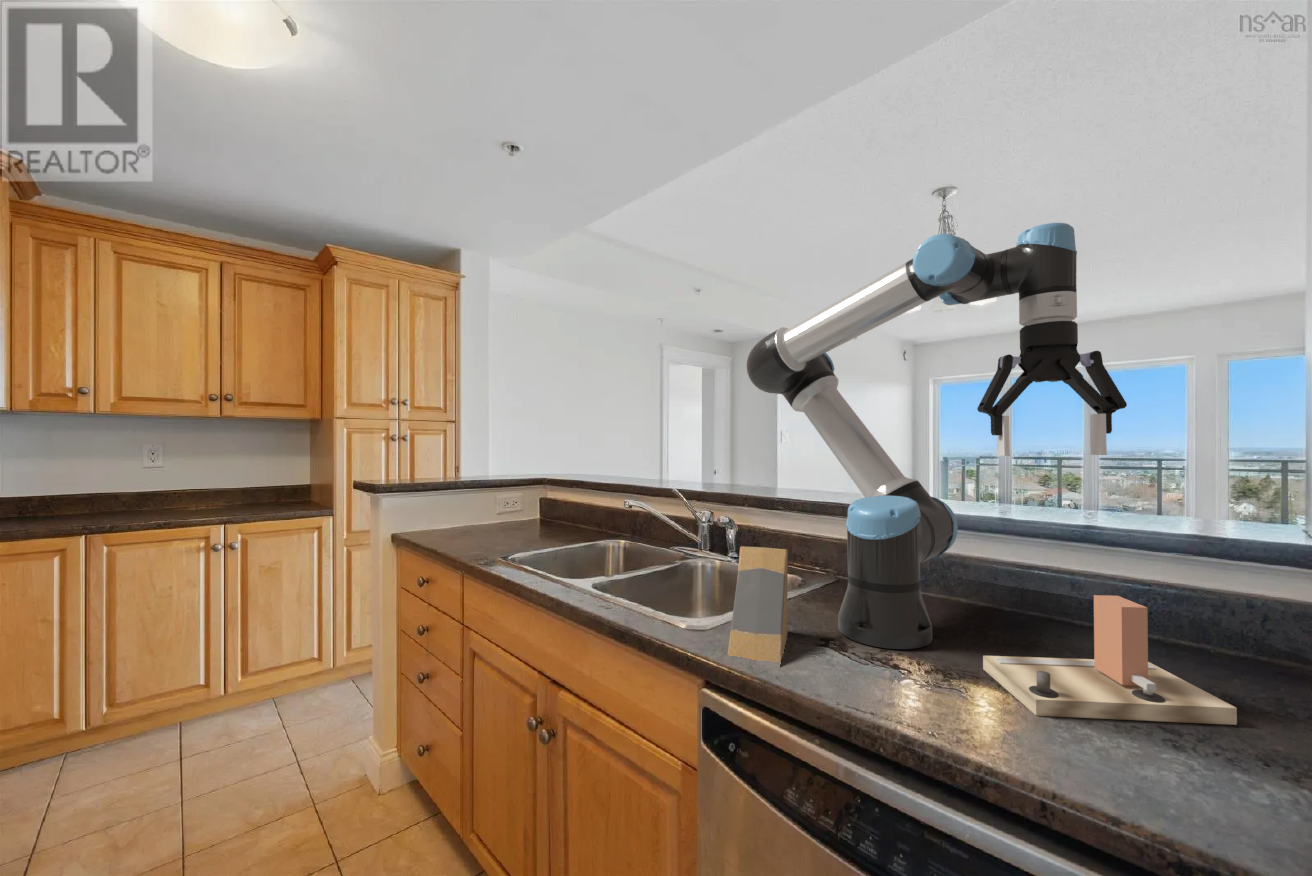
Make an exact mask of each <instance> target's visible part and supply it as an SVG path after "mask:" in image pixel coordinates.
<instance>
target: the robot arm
mask: <svg viewBox="0 0 1312 876" xmlns="http://www.w3.org/2000/svg"><path fill="white" fill-rule="evenodd" d="M1075 238H1076V235H1075V228H1074V227H1073V226H1072V225H1070V224H1069V223H1065V222H1049V223H1044V224H1040V225H1036V226H1035V225H1034V226H1032V227H1031V228H1029V229H1026V230H1024V231H1022V232H1021V233H1020V234H1019V235H1018V237H1017V242H1016V246H1014V247H1011V248H1007V249H1005V250H1000V251H996V252H992V253H987V254H986V253H985V252H983V251H981V250H979V249H977V248H976V247H974V246H973V245H972V244H971V243H970V242H969V241H968V240H966V239H965V238H962V237H960V236H957V235H954V234H951V233H939V234H938V233H937V234H934V235H932V236H930V237H928V238H927V239H925V240H923V242H921V244H920V245H919V246H918V248H917V249H916V250H915V253H914V255H913V258H911V259H910V260H908V261H906V262H904V263H903V264H901V265H899V266H898V267H896V268H894V269H892V270H890V271H888V272H886V273H885V274H883V275H882V276H880V277H878V278H877V279H876V278H875V280H873V281H871V282H869V283H868V284H866V285H863V286H862V287H860V288H859V289H857V290H855V291H853V292H851V293H850V294H848V295H846V296H844V297H842V298H841V299H839V300H838V301H835V302H833V303H832V304H830V305H829V306H827V307H825V308H823V309H822V310H820V311H818V312H816V313H814V314H813V315H811V316H810V317H807V318H806V319H804V320H803V321H801V322H799V323H797V324H795V325H794V326H792V327H790V328H788V327H780V328H778V329H776V330H774V331H773V332H771V333H770V334H768V335H766V336H765V337H764V338H762V339H760V340H759V341H758V342H757V343H756V344H755V345H754V346H753V347H752V348H751V350H750V352H749V354H748V356H747V360H746V372H747V375H748V378H749V380H750V382H751V383H752V384H753V385H754V386H755V387H756V388H757V389H758V390H760V391H762V392H764V393H769V394H777V395H782V396H783V397H784V399H785V400H786V402H788V404H789V406H790V407H791V409H792V410H793V411H795V412H800V413H804V415H805V416H806V417H807V419H808V420H809V422H810V423H811V424H812V426H813V427H814V429H815V430H816V431H817V433H818V434H819V436H820V437H821V438H822V439H823V441H824V442H825V444H826V445H827V447H828V448H829V449H830V451H831V452H832V454H833V455H834V456H835V458H836V460H837V461H838V462H839V463H840V465H841V466H842V467H843V469H844V471H846V473H847V474H848V476H849V477H850V479H851V480H852V482H853V483H854V484H855V485H856V487H857V489H858V490H859V491H860V493H861V494H862V495H863V496H864V497H862V498H859V499H856V500H854V501H852V502H851V503H850V504H849V506H848V508H847V518H846V523H845V526H846V531H847V532H846V536H847V538H846V539H847V541H846V542H847V543H846V544H847V588H846V591H845V593H844V596H843V600H842V602H841V606H840V609H839V612H838V616H837V629H838V631H839V632H840V633H841V634H842V635H843V636H845V637H846V638H848V639H850V640H852V641H855V642H857V643H860V644H863V645H868V646H871V647H876V648H882V649H888V650H889V649H890V650H892V649H893V650H912V649H913V650H914V649H920V648H924V647H926V646H928V645H930V644H931V643H932V642H933V624H932V622H931V619H930V617H929V616H930V615H929V613H928V610H927V607H926V605H925V602H924V600H923V596H922V593H921V563H924V562H927V561H929V560H934V559H938V557H939V556H941V555H944V553H946V552H947V551H949V549H950V548H951V547H952V546H953V545H954V543H955V542H956V538H957V535H958V530H959V528H958V527H959V526H958V521H957V518H956V515H955V513H954V511H953V510H952V508H951V507H950V506H949V505H948V504H947V503H945V501H942V500H941V499H938V498H937V497H933V496H931V495H930V494H929V492H928V491H927V490H926V489H925V487H924V486H923V484H921V483H920V481H919V480H918V479H915V478H910V477H906V476H905V475H904V474H903V472H902V471H901V469H899V467H898V466H897V465H896V464H895V462H894V461H893V460H892V458H891V457H890V456H889V454H888V453H887V452H886V451H885V450H884V448H883V447H882V446H881V444H880V443H879V442H878V440H877V439H876V438H875V436H874V435H873V433H871V432H870V430H869V429H868V427H867V426H866V425H865V424H864V422H863V421H862V420H861V418H860V417H859V416H858V415H857V413H856V412H855V411H854V409H852V407H851V405H849V403H848V402H847V400H846V399H845V398H844V397H843V395H842V393H841V392H839V390H838V386H839V378H838V377H837V376H836V374H835V373H834V371H835V366H834V363H833V362H834V361H833V360H832V358H831V357H830V356H829V354H828V352H830V351H832V350H834V349H836V348H837V347H840V346H841V345H844V344H845V343H848V342H849V341H851V340H853V339H856V338H858V337H860V336H862V335H864V334H866V333H867V332H869V331H872V330H873V329H876V328H878V327H879V326H881V325H883V324H885V323H888V322H889V321H891V320H893V319H895V318H897V317H899V316H901V315H903V314H905V313H907V312H909V311H911V310H913V309H914V308H917V307H919V306H921V305H923V304H925V303H927V302H929V301H932V300H934V299H935V298H937V297H938V298H939V299H940V300H941V302H942V303H943V304H944V305H946V306H955V305H968V304H970V303H974V302H978V301H983V300H988V299H994V298H999V297H1003V296H1010V295H1015V294H1018V305H1019V306H1018V313H1019V314H1018V317H1019V318H1018V320H1019V321H1018V323H1019V325H1020V326H1022V327H1021V328H1020V330H1019V351H1020V353H1019V356H1013V354H1005V355H1002V356H1000V357H999V358H998V360H997V361H998V362H997V369H996V372H995V374H994V376H993V377H992V379H991V382H990V383H989V385H988V387H987V389H986V391H985V393H984V395H983V396H982V399H980V400H981V401H980V402H979V404H978V406H977V412H979V413H982V414H987V415H988V417H990V433H991V436H996V452H997V453H996V456H997V457H1010V456H1011V454H1010V452H1011V451H1010V443H1011V442H1010V415H1004V413H1006V412H1007V410H1008V409H1009V408H1010V406H1012V405H1013V403H1014V402H1015V401H1016V400H1017V399H1018V398H1019V397H1020V396H1021V394H1023V393H1024V391H1025V390H1026V389H1027V388H1028V387H1030V385H1031V384H1032V383H1033V382H1034V383H1043V382H1051V383H1055V382H1056V383H1057V382H1063V383H1064V384H1065V385H1068V386H1069V387H1070V388H1071V389H1072V390H1073V391H1074V392H1075V393H1076V394H1077V395H1078V396H1079V397H1080V398H1081V399H1082V400H1083V401H1084V402H1085V403H1086V404H1087V405H1088V406H1089V407H1090V408H1091V409H1092V410H1093V411H1094V412H1095V413H1091V414H1089V436H1090V443H1089V444H1090V447H1089V448H1090V455H1091V456H1107V453H1108V451H1107V450H1108V449H1107V434H1112V431H1113V417H1112V416H1113V414H1114V413H1116V412H1117V411H1118V410H1121V409H1126V407H1127V401H1126V400H1125V398H1124V396H1123V395H1122V393H1121V392H1120V390H1119V388H1118V387H1117V385H1116V384H1115V383H1116V382H1114V381H1113V379H1112V376H1111V375H1110V373H1109V372H1108V370H1107V369H1106V367H1105V365H1104V361H1103V357H1102V356H1103V355H1102V353H1101V351H1100V350H1093V351H1089V352H1086V353H1081V354H1080V353H1079V351H1078V348H1077V347H1078V343H1079V341H1078V340H1079V339H1078V338H1079V335H1078V334H1079V332H1078V329H1079V328H1078V323H1076V321H1074V320H1075V319H1076V318H1078V297H1077V296H1078V293H1077V289H1078V288H1077V254H1078V251H1077V249H1076V248H1077V247H1076V239H1075ZM1079 363H1081V366H1083V367H1084V368H1085V371H1086V373H1087V374H1088V376H1089V377H1090V379H1091V381H1092V383H1093V384H1094V386H1095V387H1093V386H1092V385H1091V384H1090V383H1089V381H1087V380H1086V379H1085V378H1084V375H1083V374H1082V373H1081V372H1080V371H1079V370H1078V369H1077V368H1076V367H1077V366H1078V364H1079ZM1017 365H1018V367H1019V368H1020V369H1021V370H1022V371H1023V372H1022V373H1021V374H1020V375H1019V376H1018V378H1016V380H1015V381H1014V383H1013V384H1012V385H1011V386H1010V387H1009V388H1008V390H1007V391H1006V392H1005V393H1004V394H1003V395H1002V396H1001V398H999V400H997V399H998V397H999V395H1000V393H1001V392H1002V390H1003V387H1004V386H1005V384H1006V381H1007V380H1008V379H1009V376H1010V375H1011V372H1012V370H1013V369H1015V368H1016V366H1017ZM1095 388H1096V389H1097V390H1096V389H1095ZM996 401H997V402H996Z"/></svg>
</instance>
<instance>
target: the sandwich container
mask: <svg viewBox="0 0 1312 876" xmlns="http://www.w3.org/2000/svg"><path fill="white" fill-rule="evenodd" d="M788 553H789V552H788V549H785V548H774V547H773V548H772V547H761V546H760V547H759V546H744V545H743V546H742V545H741V546H740V547H739V556H738V566H737V567H738V569H737V577H736V586H735V592H734V601H733V609H732V610H733V611H732V617H731V618H732V619H731V626H730V634H729V640H728V641H729V642H728V647H727V649H728V650H727V655H729V656H737V657H743V658H748V659H752V660H757V661H771V662H779V663H780V662H781V659H782V656H783V657H784V655H783V652H784V649H785V650H786V647H785V645H786V644H787V642H786V641H788V594H789V593H788V590H789V589H788V581H789V580H788V577H789V576H788V572H789V571H788V570H789V569H788V565H789V564H788V562H789V561H788V559H789V557H788ZM784 653H785V652H784ZM782 660H783V659H782Z"/></svg>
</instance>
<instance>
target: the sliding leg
mask: <svg viewBox="0 0 1312 876" xmlns="http://www.w3.org/2000/svg"><path fill="white" fill-rule="evenodd" d="M1148 615H1149V614H1148V607H1147V606H1144V605H1142V604H1139V603H1137V602H1134V601H1132V600H1129V599H1128V598H1124V597H1122V596H1119V595H1108V594H1107V595H1106V594H1105V595H1096V594H1094V595H1093V641H1094V643H1093V645H1094V647H1093V649H1094V651H1093V653H1094V658H1093V659H1094V666H1095V669H1097V670H1099V671H1100V672H1102V673H1103V674H1105V675H1107V676H1108V677H1110V678H1112V679H1113V680H1115V681H1116V682H1118V683H1120V684H1121V685H1131V686H1141V687H1142V688H1143V693H1145V694H1148V695H1153V690H1154V691H1156V684H1155V683H1153V682H1151V681H1149V680H1148V662H1149V641H1148V640H1149V638H1148V637H1149V636H1148V631H1149V630H1148V628H1149V627H1148V625H1149V622H1148V618H1149V617H1148Z"/></svg>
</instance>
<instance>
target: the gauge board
mask: <svg viewBox="0 0 1312 876" xmlns="http://www.w3.org/2000/svg"><path fill="white" fill-rule="evenodd" d="M982 669H983V671H985V672H986V673H987V674H988V675H989V676H990V677H992V679H994V680H995V681H996V682H997V683H999V684H1000V685H1001V687H1003V688H1004V689H1005V690H1006V691H1007V692H1009V693H1010V694H1011V695H1012V696H1014V698H1015V699H1017V700H1018V701H1019V702H1020V703H1021V704H1022V705H1023V706H1025V707H1026V708H1027V709H1028V710H1029V711H1030V712H1031V713H1033V715H1035V716H1040V717H1055V718H1056V717H1057V718H1058V717H1060V718H1077V719H1078V718H1080V719H1081V718H1084V719H1104V720H1105V719H1106V720H1124V721H1125V720H1126V721H1127V720H1128V721H1148V722H1166V723H1168V722H1169V723H1187V724H1189V723H1190V724H1191V723H1193V724H1206V725H1207V724H1208V725H1209V724H1211V725H1229V726H1230V725H1232V726H1237V725H1238V717H1237V716H1238V714H1237V711H1238V707H1236V706H1234V705H1232V704H1230V703H1228V702H1226V701H1224V700H1222V699H1221V698H1219V697H1217V696H1214V695H1213V694H1211V693H1209V692H1207V691H1205V690H1204V689H1201V688H1200V687H1198V686H1195V685H1194V684H1192V683H1190V682H1188V681H1186V680H1184V679H1182V678H1180V677H1178V676H1177V675H1174V673H1171V672H1169V671H1167V670H1165V669H1163V668H1161V667H1159V666H1158V665H1156V664H1153V663H1152V662H1149V661H1148V680H1149V681H1151V682H1153V683H1155V684H1156V691H1154V690H1153V695H1148V694H1145V693H1143V688H1142V687H1141V686H1131V685H1121V684H1120V683H1118V682H1116V681H1115V680H1113V679H1112V678H1110V677H1108V676H1107V675H1105V674H1103V673H1102V672H1100V671H1099V670H1097V669H1095V666H1094V658H1093V659H1091V658H1067V657H1065V658H1064V657H1063V658H1062V657H1061V658H1060V657H1040V656H1039V657H1035V656H1033V657H1032V656H1007V655H1003V656H1002V655H982Z"/></svg>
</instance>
